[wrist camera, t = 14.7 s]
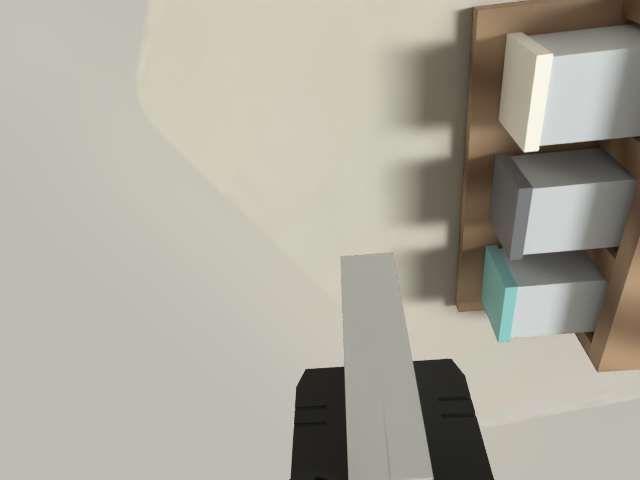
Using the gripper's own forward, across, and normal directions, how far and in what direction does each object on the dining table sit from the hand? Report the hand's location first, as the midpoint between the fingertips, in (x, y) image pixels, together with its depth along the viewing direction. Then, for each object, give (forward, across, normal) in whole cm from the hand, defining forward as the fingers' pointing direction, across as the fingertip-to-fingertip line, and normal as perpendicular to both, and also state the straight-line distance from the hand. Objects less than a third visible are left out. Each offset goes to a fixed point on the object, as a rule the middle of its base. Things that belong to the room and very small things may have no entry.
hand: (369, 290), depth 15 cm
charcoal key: (+19, +16, -8) cm, 26 cm away
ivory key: (+19, +16, -1) cm, 25 cm away
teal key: (+19, +16, -16) cm, 29 cm away
